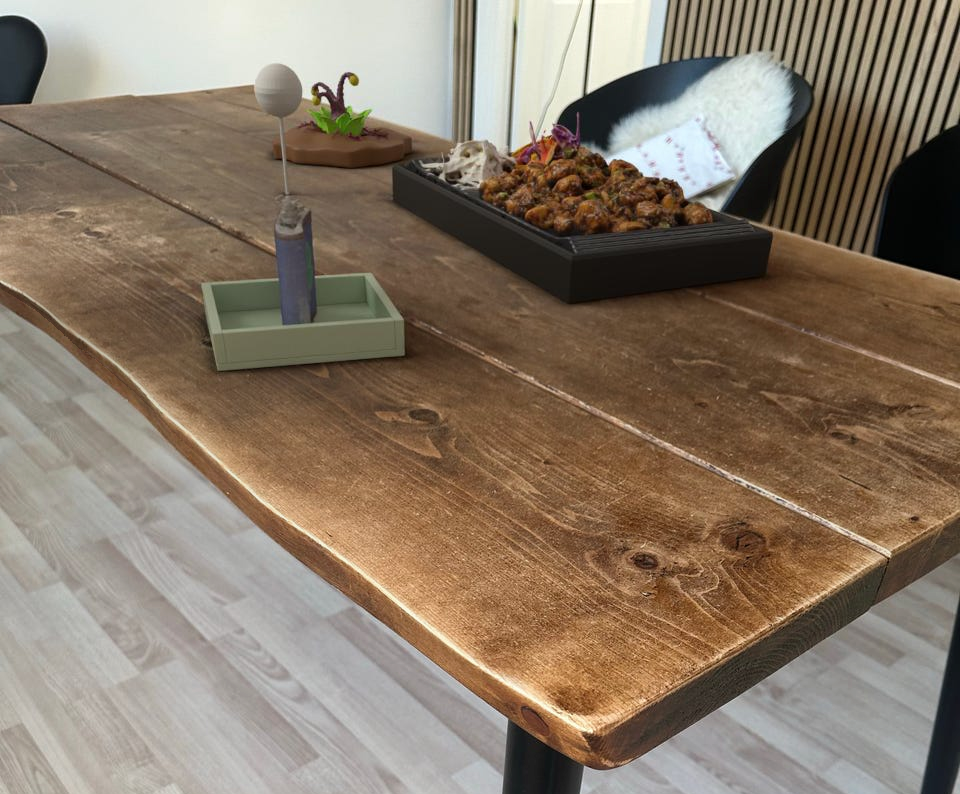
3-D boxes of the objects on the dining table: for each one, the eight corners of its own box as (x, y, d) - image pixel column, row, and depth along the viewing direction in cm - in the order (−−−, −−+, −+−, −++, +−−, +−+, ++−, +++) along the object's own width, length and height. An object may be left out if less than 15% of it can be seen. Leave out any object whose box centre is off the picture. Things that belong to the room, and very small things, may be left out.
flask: (312, 343, 82) (301, 209, 76) (277, 343, 82) (263, 209, 75) (320, 308, 89) (310, 183, 83) (288, 308, 89) (276, 183, 83)
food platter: (393, 201, 126) (390, 112, 120) (555, 187, 135) (560, 104, 129) (568, 303, 94) (577, 189, 88) (765, 275, 103) (786, 170, 97)
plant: (364, 173, 139) (360, 84, 133) (253, 158, 146) (244, 73, 139) (429, 150, 154) (428, 69, 147) (325, 137, 160) (320, 59, 154)
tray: (217, 371, 78) (212, 333, 76) (206, 317, 89) (201, 282, 87) (404, 355, 82) (404, 319, 80) (372, 305, 92) (371, 272, 91)
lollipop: (279, 187, 131) (267, 59, 122) (318, 191, 129) (309, 62, 120) (256, 196, 126) (242, 64, 117) (296, 201, 125) (285, 67, 116)
